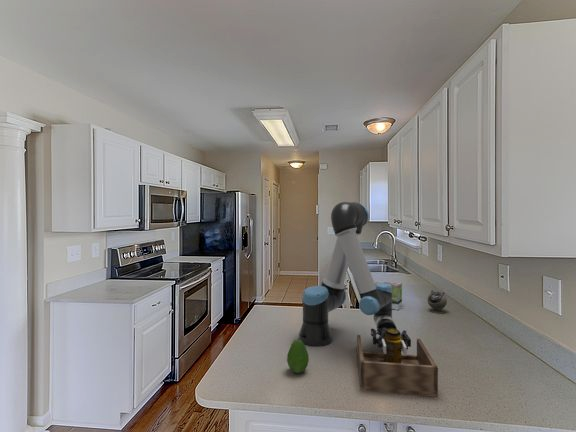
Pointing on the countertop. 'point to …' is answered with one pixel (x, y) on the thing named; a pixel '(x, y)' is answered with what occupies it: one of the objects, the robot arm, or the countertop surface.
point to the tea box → (395, 294)
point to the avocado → (297, 356)
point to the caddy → (398, 372)
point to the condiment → (392, 346)
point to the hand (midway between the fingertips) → (395, 350)
